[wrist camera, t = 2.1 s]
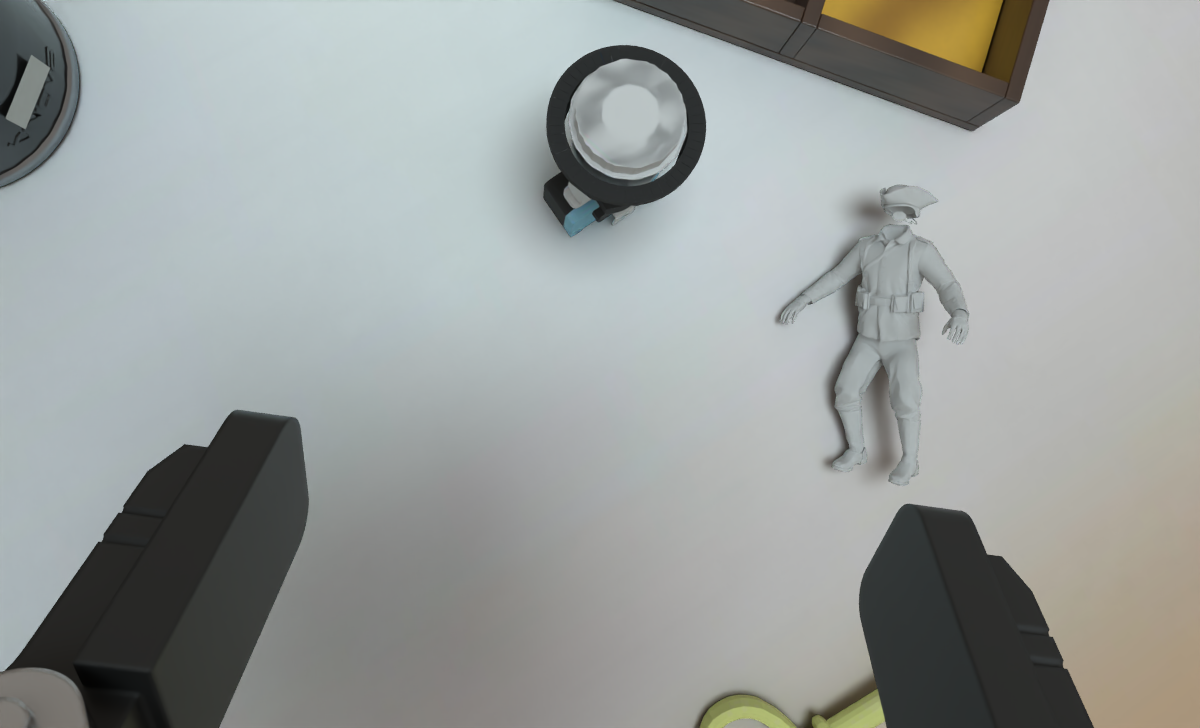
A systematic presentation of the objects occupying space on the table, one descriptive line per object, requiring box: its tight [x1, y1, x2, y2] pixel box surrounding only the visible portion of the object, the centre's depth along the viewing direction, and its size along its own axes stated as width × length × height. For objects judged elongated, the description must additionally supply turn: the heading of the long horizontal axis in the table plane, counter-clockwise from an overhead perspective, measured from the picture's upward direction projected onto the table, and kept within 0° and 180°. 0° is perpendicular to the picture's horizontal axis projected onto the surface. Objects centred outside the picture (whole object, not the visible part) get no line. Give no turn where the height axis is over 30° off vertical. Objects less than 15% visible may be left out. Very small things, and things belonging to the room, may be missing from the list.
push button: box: [543, 45, 706, 237], centre depth 31 cm, size 7×5×10 cm
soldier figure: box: [780, 185, 969, 486], centre depth 34 cm, size 8×5×12 cm
